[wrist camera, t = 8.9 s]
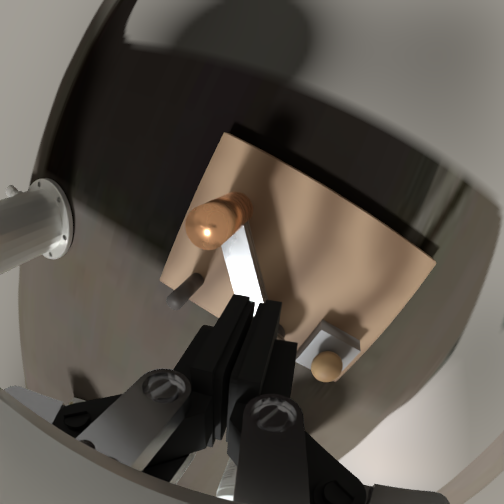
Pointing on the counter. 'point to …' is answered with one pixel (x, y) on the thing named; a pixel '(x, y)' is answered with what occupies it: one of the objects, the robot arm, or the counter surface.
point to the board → (302, 259)
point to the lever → (230, 241)
